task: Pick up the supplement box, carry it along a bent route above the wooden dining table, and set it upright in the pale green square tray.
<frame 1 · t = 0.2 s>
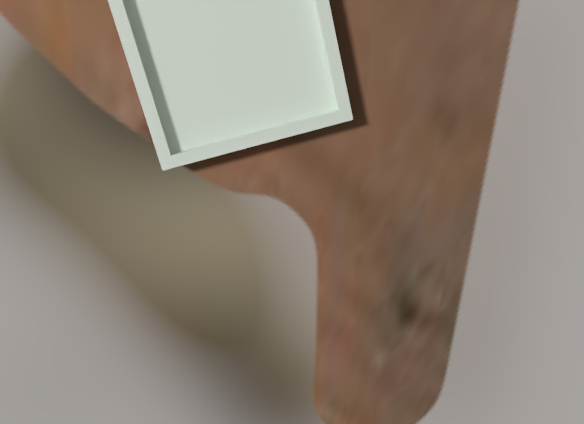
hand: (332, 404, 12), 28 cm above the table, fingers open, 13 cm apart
pale green square tray: (231, 44, 36), on the table
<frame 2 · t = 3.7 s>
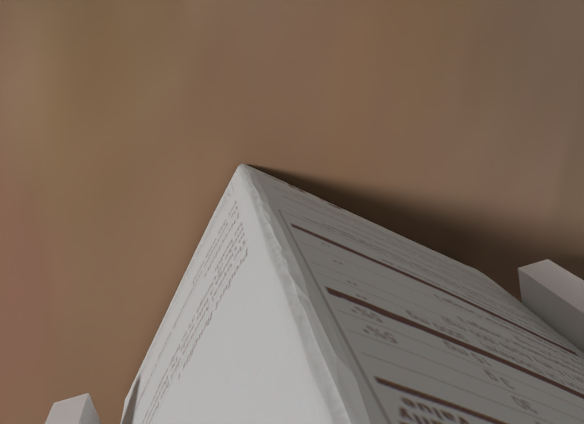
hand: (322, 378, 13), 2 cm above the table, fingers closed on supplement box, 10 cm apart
supplement box: (304, 327, 15), on the table, touching gripper
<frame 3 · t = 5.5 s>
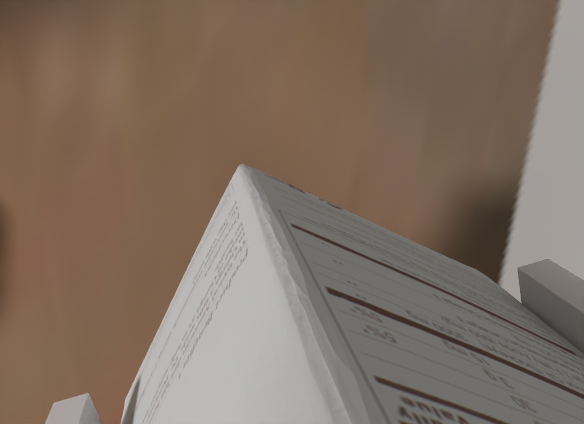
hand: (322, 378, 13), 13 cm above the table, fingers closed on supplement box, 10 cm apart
supplement box: (304, 327, 15), point 10 cm above the table, touching gripper
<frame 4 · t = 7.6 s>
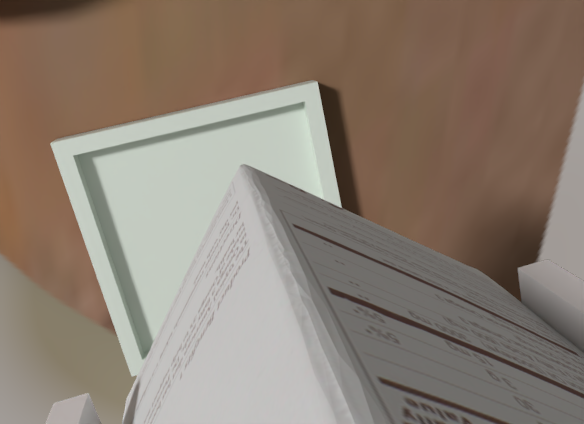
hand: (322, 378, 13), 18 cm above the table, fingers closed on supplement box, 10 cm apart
pale green square tray: (219, 228, 30), on the table
supplement box: (305, 327, 15), point 15 cm above the table, touching gripper
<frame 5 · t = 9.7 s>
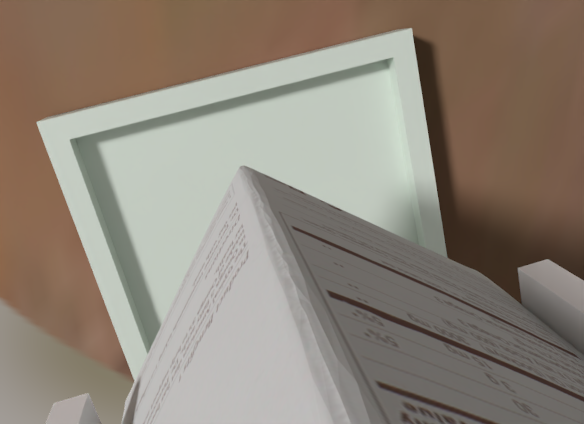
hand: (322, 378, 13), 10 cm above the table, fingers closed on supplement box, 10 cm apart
pale green square tray: (270, 236, 22), on the table
supplement box: (304, 328, 15), point 7 cm above the table, touching gripper
when the fingers open (4 cm above the table, at t = 11.4 s): supplement box stays where it is, resting on pale green square tray.
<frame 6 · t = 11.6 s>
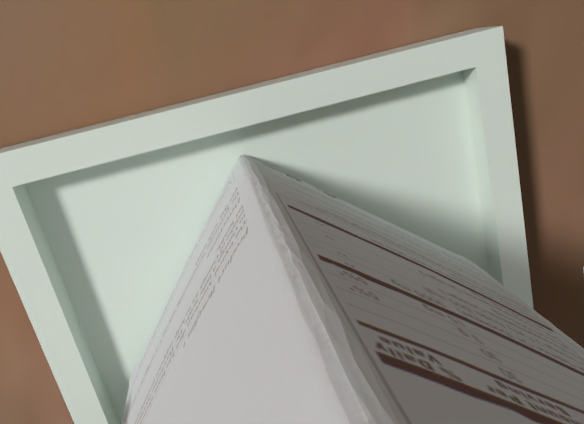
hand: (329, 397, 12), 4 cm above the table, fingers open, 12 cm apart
pale green square tray: (296, 308, 16), on the table
supplement box: (300, 311, 16), resting on pale green square tray
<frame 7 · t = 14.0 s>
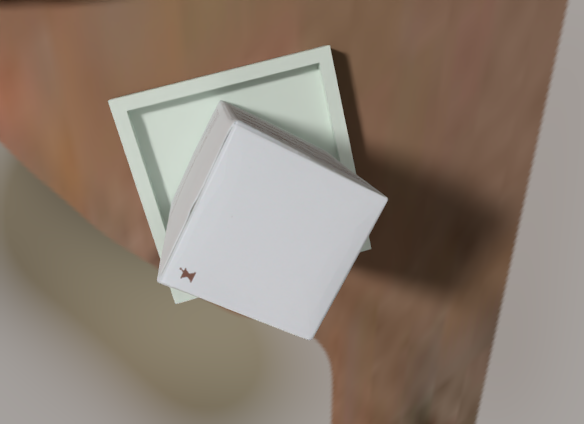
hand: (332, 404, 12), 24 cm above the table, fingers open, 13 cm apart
pale green square tray: (247, 175, 35), on the table
supplement box: (248, 175, 35), resting on pale green square tray
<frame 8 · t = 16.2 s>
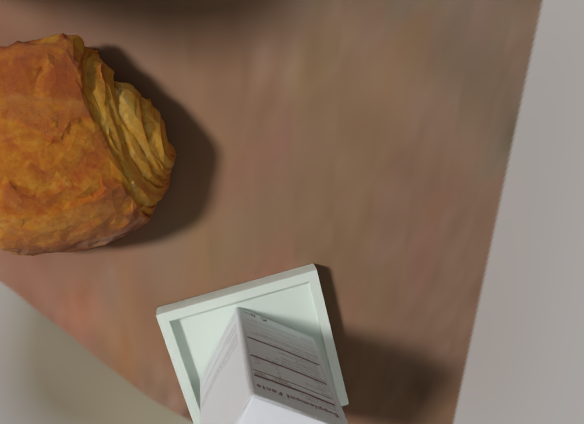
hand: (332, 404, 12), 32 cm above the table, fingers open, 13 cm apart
pale green square tray: (256, 353, 47), on the table
supplement box: (257, 354, 46), resting on pale green square tray
croissant: (64, 142, 40), on the table
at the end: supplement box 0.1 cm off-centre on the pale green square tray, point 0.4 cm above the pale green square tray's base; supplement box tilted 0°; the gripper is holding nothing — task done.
